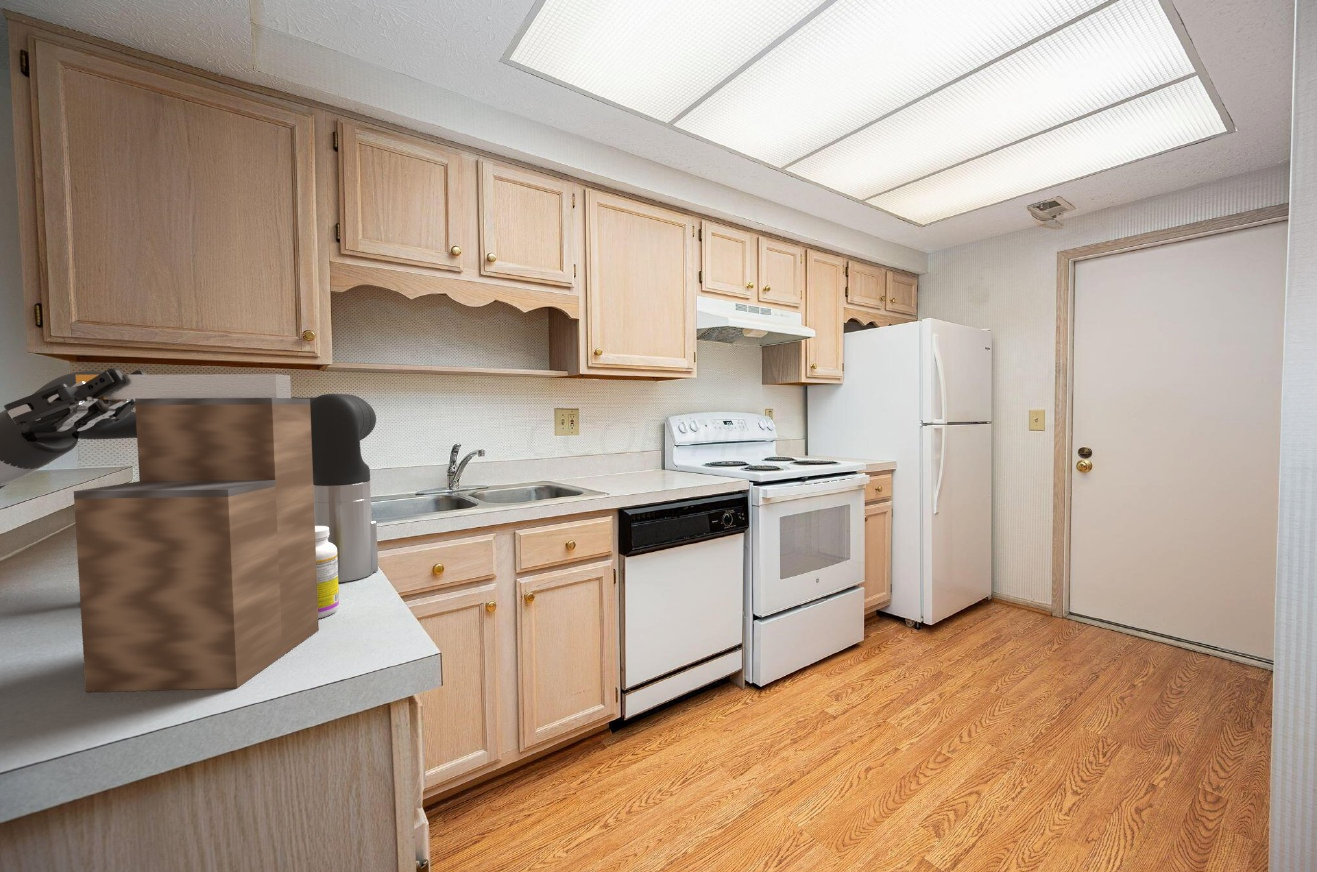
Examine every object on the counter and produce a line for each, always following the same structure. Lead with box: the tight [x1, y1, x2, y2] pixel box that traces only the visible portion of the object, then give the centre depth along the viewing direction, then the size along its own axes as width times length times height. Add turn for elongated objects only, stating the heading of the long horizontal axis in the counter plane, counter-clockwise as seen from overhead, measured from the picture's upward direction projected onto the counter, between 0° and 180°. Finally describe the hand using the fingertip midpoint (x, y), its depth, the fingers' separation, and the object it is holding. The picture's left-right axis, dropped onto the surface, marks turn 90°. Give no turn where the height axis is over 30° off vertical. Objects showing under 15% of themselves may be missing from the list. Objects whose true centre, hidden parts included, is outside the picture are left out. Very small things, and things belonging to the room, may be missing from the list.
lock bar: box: [76, 373, 292, 400], centre depth 72 cm, size 24×3×3 cm, turn 92°
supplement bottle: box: [315, 526, 340, 620], centre depth 84 cm, size 7×7×13 cm
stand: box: [73, 398, 320, 693], centre depth 69 cm, size 16×16×32 cm
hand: (133, 376), depth 71 cm, fingers closed on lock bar, 3 cm apart
